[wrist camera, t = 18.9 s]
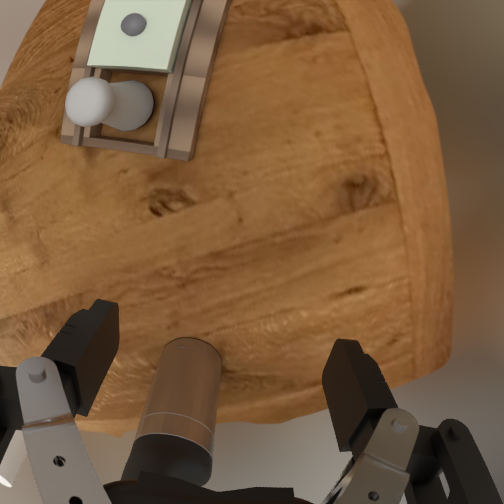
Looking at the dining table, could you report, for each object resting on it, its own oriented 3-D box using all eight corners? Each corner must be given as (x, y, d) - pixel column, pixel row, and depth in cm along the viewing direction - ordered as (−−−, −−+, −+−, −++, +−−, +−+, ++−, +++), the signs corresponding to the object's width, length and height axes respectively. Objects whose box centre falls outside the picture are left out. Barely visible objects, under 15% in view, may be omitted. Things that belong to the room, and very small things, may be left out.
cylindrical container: (51, 393, 51) (3, 486, 28) (27, 369, 49) (-30, 459, 26) (68, 385, 50) (17, 488, 27) (42, 359, 48) (-20, 458, 24)
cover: (172, 73, 29) (164, 68, 25) (97, 68, 28) (82, 63, 24) (193, -2, 25) (187, -14, 22) (117, -3, 24) (105, -13, 21)
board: (193, 158, 35) (186, 162, 31) (72, 140, 34) (55, 144, 30) (231, -2, 28) (229, -15, 24) (106, -7, 26) (93, -17, 23)
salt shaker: (139, 139, 34) (87, 150, 22) (104, 114, 33) (43, 115, 21) (169, 98, 32) (127, 87, 20) (132, 73, 31) (78, 55, 19)
